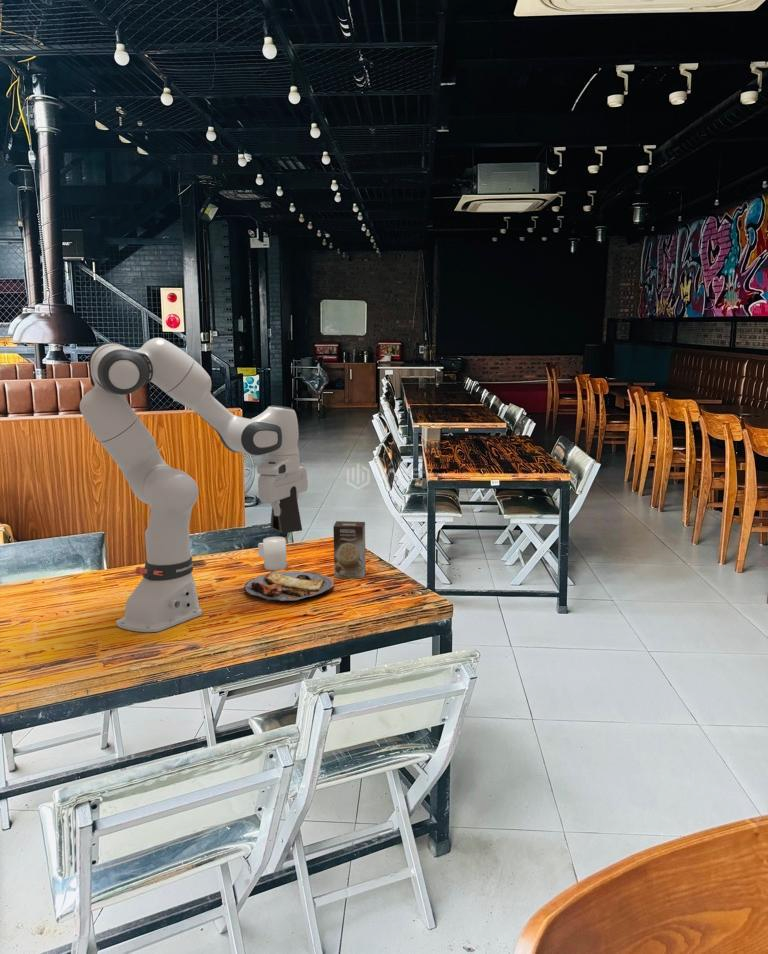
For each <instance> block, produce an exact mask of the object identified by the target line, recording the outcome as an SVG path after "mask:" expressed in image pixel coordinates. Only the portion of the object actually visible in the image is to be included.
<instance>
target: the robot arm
mask: <svg viewBox="0 0 768 954" xmlns="http://www.w3.org/2000/svg"><path fill="white" fill-rule="evenodd" d="M88 369H89V370H88V371H89V378H90V385H91V386H93V387H92V389H90V390H88V391H87V392H86V393H85V394H84V395H83V396H82V398H81V400H80V402H79V411H80V413H81V415H82V417H83V419H84V421H85V422H86V424H87V426H88V427H89V430H91V432H92V433H93V436H95V438H96V439H97V440H98V441H97V442H99V443H100V444H101V446H102V447H103V448H104V449H105V451H106V452H107V453H108V455H109V456H110V458H111V459H112V460H113V461H114V463H115V464H116V465H117V466H118V468H119V470H120V471H121V473H122V475H123V477H124V478H125V480H126V482H127V484H128V485H129V487H130V489H131V491H132V493H133V495H134V496H135V497H136V498H137V499H139V501H140V502H142V503H143V504H147V505H148V506H149V508H150V511H149V512H150V514H149V521H148V526H147V528H146V529H145V532H144V539H145V540H144V541H145V551H146V561H145V563H144V567H141V566H137V567H136V568H135V571H134V572H135V574H136V575H141V576H142V579H141V580H140V582H139V583H138V585H137V586H136V587H135V589H134V590H133V591H132V593H131V594H130V595H129V596H128V597H127V599H126V601H125V615H123V616H122V617H121V618H119V619H117V620H116V626H117V627H119V628H120V629H122V630H127V631H130V632H131V631H133V632H138V633H157V632H161V631H163V630H166V629H169V628H171V627H174V626H176V625H179V624H182V623H184V622H187V621H189V620H193V619H195V618H197V617H200V616H202V615H203V610H202V608H201V606H200V603H199V596H198V592H197V586H196V582H195V580H194V576H193V571H194V563H193V557H192V556H191V545H190V521H191V517H192V516H191V515H192V510H193V506H194V505H195V504H196V503H197V500H198V498H199V486H198V484H197V482H196V481H195V479H194V478H192V477H191V476H190V474H188V473H187V472H185V470H181V469H178V468H174V467H171V466H170V465H169V464H168V463H166V461H165V460H164V459H163V457H162V455H161V453H160V451H159V449H158V446H157V441H156V439H155V437H153V435H152V433H151V432H150V431H149V430H148V428H147V426H146V425H145V424H144V423H143V421H142V420H141V418H140V417H139V416H138V414H137V413H136V412H135V410H134V409H133V408H132V407H131V405H130V404H129V402H128V399H127V395H130V394H132V393H134V392H136V391H137V390H139V389H140V388H142V387H144V386H145V385H146V384H148V383H150V382H151V383H152V384H154V385H155V386H156V387H158V388H159V389H160V390H161V391H163V392H164V393H165V394H166V395H167V396H168V397H170V398H171V399H173V400H174V401H176V402H178V403H179V404H181V405H183V406H184V407H186V408H188V409H190V410H192V411H193V412H195V414H197V415H198V416H199V417H200V418H201V419H202V420H204V421H205V422H206V423H207V425H209V426H210V427H212V429H214V431H215V432H216V434H217V435H218V436H219V439H220V441H221V443H222V445H223V446H224V447H225V448H226V449H227V450H228V451H230V452H233V453H237V454H245V455H249V456H254V457H256V456H263V455H266V458H265V460H264V461H263V462H261V463H260V464H259V465H258V466H257V468H256V472H257V473H256V474H258V475H259V476H258V479H257V488H258V489H257V490H258V498H259V500H260V502H261V503H265V504H266V503H267V504H270V505H271V508H272V507H273V509H274V515H275V516H280V515H281V512H282V509H280V506H279V504H280V500H281V499H284V498H287V497H290V490H291V488H292V487H293V486H295V487H296V490H297V501H298V500H299V494H302V493H304V492H307V490H308V487H309V482H308V473H307V469H306V467H305V463H304V462H303V461H302V460H301V459H300V450H299V447H298V446H299V445H298V442H299V437H300V436H299V434H300V433H299V423H298V417H297V413H296V411H295V409H293V407H288V406H281V405H276V404H274V405H270V406H268V407H267V408H266V409H265V410H264V411H262V412H261V413H260V414H257V416H255V417H251V418H247V417H244V416H240V415H236V414H234V413H232V412H230V411H229V410H228V409H227V408H226V407H225V406H224V405H223V404H222V403H221V402H219V400H217V399H216V398H215V396H213V394H212V392H211V391H212V379H211V378H212V377H211V376H210V375H209V373H208V372H207V371H206V370H205V369H204V368H203V366H202V365H201V364H200V363H199V362H197V360H196V359H194V357H191V356H190V355H189V354H188V353H187V352H185V351H184V350H183V349H181V348H180V347H178V345H175V344H174V343H172V342H170V341H169V340H167V339H166V338H162V337H153V338H151V339H149V340H147V341H146V342H144V343H143V345H142V346H141V347H140V348H138V349H131V348H129V347H127V346H125V345H123V344H121V343H117V342H109V341H108V342H104V343H101V344H98V345H97V346H96V347H94V349H93V350H92V352H91V353H90V355H89V360H88Z"/></svg>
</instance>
